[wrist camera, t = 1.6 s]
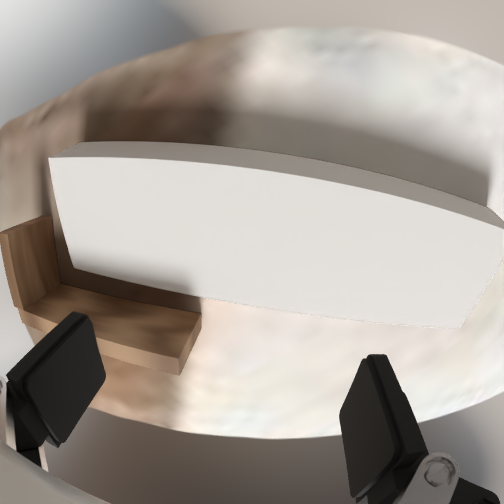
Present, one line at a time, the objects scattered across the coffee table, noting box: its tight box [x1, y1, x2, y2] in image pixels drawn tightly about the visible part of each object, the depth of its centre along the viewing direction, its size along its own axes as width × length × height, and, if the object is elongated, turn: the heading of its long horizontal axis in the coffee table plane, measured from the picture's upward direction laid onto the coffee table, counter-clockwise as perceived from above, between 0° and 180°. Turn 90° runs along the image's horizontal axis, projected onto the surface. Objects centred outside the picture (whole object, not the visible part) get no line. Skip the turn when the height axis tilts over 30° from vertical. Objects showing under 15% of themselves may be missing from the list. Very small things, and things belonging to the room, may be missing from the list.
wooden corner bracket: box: [0, 216, 201, 375], centre depth 20 cm, size 17×9×6 cm, turn 85°
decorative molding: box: [49, 141, 504, 329], centre depth 19 cm, size 34×5×10 cm
